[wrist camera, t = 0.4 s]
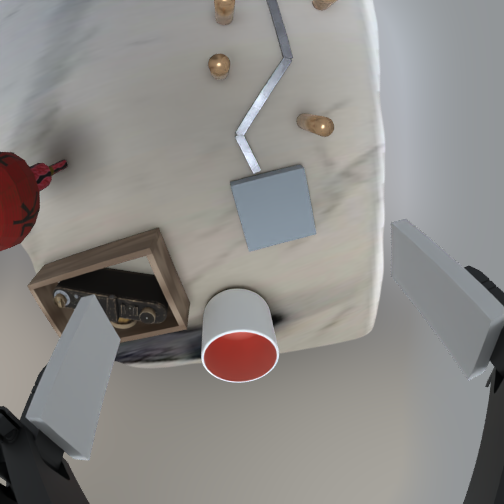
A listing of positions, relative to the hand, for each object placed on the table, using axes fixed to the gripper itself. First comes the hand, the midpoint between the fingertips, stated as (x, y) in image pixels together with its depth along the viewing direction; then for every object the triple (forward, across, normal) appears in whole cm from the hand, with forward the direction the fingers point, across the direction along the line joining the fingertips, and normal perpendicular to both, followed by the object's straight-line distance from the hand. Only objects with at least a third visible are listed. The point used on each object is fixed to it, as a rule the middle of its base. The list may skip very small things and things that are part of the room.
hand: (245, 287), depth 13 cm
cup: (+28, -5, -23) cm, 36 cm away
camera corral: (+28, -21, -13) cm, 37 cm away
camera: (+28, -20, -14) cm, 37 cm away
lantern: (+28, -21, +6) cm, 36 cm away
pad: (+28, +4, -8) cm, 29 cm away
